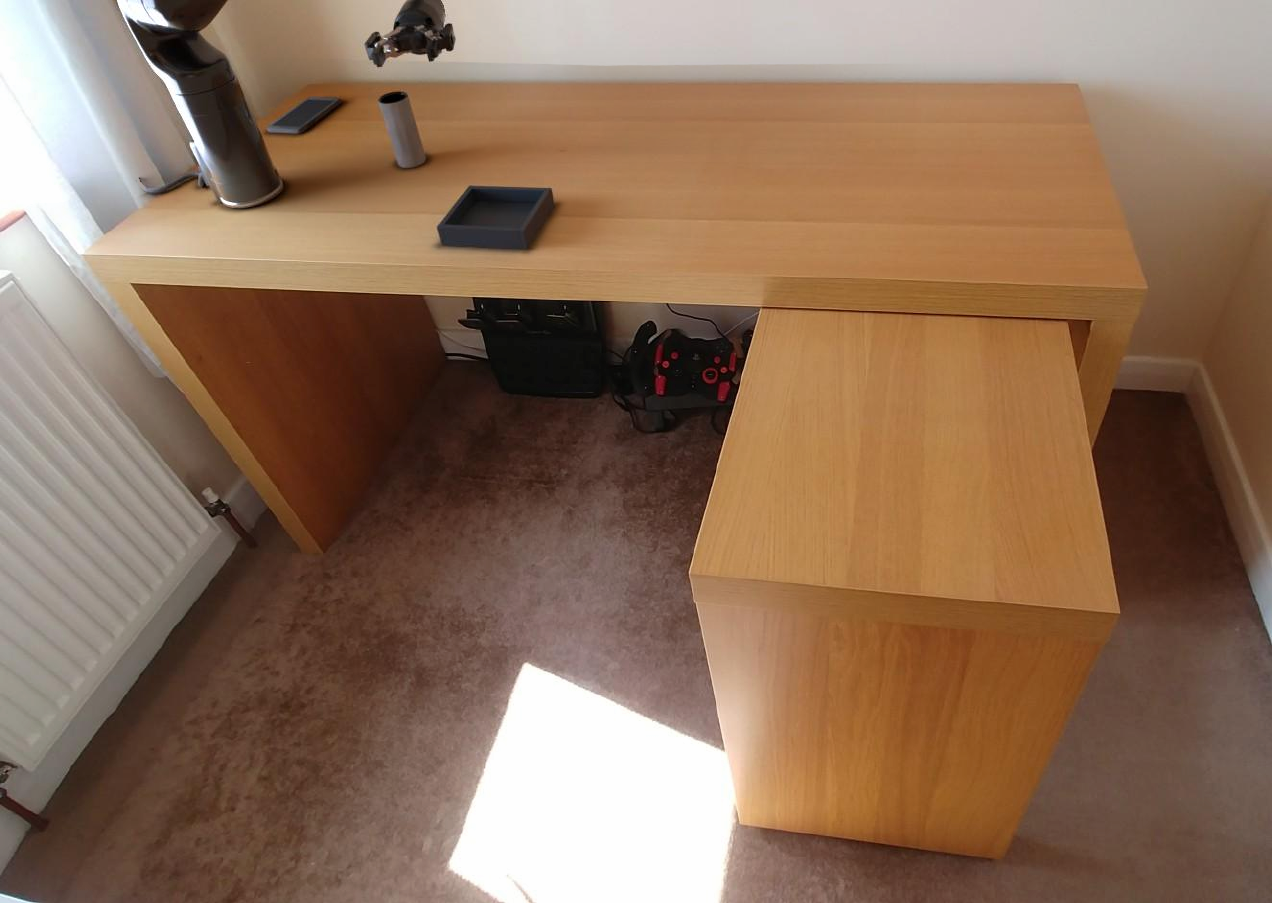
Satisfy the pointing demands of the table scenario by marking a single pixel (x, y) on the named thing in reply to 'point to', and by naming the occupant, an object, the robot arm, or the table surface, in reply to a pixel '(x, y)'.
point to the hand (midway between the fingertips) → (403, 58)
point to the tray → (496, 217)
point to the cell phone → (304, 115)
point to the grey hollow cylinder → (402, 129)
